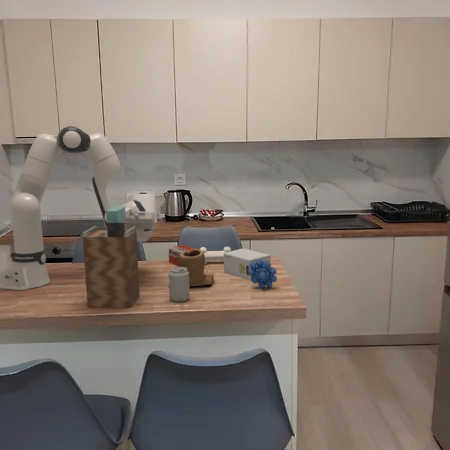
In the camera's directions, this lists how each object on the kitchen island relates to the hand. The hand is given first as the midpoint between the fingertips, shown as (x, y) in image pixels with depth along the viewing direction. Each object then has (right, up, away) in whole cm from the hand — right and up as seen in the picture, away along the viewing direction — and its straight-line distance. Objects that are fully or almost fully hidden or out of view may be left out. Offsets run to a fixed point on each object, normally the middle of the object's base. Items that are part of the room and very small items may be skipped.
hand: (125, 211), depth 184 cm
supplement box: (+49, -27, +26) cm, 62 cm away
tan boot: (+27, -30, +10) cm, 42 cm away
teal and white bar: (-1, -3, -6) cm, 6 cm away
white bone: (+34, -24, +44) cm, 61 cm away
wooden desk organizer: (-2, -34, -8) cm, 35 cm away
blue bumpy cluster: (+54, -31, +5) cm, 63 cm away
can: (+22, -34, -6) cm, 41 cm away
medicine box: (+19, -25, +42) cm, 53 cm away
